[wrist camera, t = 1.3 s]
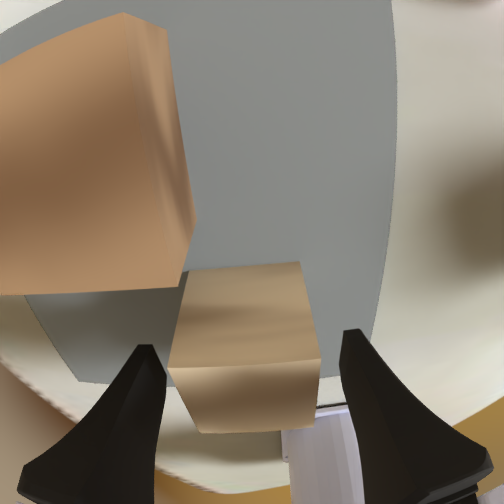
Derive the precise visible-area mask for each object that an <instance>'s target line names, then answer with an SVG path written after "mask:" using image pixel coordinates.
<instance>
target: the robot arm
mask: <svg viewBox="0 0 504 504" xmlns="http://www.w3.org/2000/svg"><path fill="white" fill-rule="evenodd" d="M339 370H340V376H341V382H342V387H343V391H344V395H345V398H346V402H347V405H342V406H335V407H328V408H321V409H316V413H315V421H314V427H310V428H301V429H291V430H281V441H282V458H283V462H286V463H288V462H289V474H290V487H291V500H292V504H504V484H502V485H500V486H498V487H497V488H495V489H493V490H491V491H489V492H487V493H485V494H483V495H481V496H479V497H476V494H475V492H477V491H478V486H477V482H479V481H480V480H482V479H483V478H485V477H486V476H487V475H489V474H490V473H491V472H492V471H493V469H494V466H493V464H492V461H491V458H490V455H489V453H488V451H487V449H486V448H485V447H483V446H481V445H479V444H478V443H476V442H474V441H472V440H470V439H469V438H467V437H466V436H464V435H463V434H461V433H460V432H458V431H457V430H455V429H454V428H452V427H451V426H450V425H448V424H447V423H446V422H444V421H443V420H442V419H440V418H439V417H438V416H436V415H435V414H434V413H433V412H432V411H431V410H429V409H428V408H427V407H426V406H425V405H424V404H423V403H422V402H421V401H420V400H418V399H417V398H416V397H415V396H414V395H413V394H412V393H411V392H410V391H409V390H408V388H407V387H406V386H405V385H404V384H403V383H402V382H401V381H400V380H399V379H398V377H397V376H396V375H395V374H394V373H393V372H392V370H391V369H390V368H389V367H388V365H387V364H386V363H385V362H384V360H383V359H382V358H381V357H380V355H379V354H378V353H377V351H376V350H375V349H374V347H373V346H372V345H371V343H370V342H369V340H368V339H367V337H366V336H365V335H364V333H363V332H362V330H361V329H359V328H357V329H350V330H343V338H342V344H341V351H340V358H339ZM166 386H167V374H166V372H165V370H164V368H163V366H162V364H161V362H160V360H159V357H158V355H157V353H156V351H155V349H154V346H153V344H138V345H137V346H136V348H135V349H134V351H133V352H132V354H131V355H130V357H129V358H128V360H127V361H126V363H125V364H124V366H123V367H122V368H121V370H120V371H119V373H118V374H117V376H116V377H115V378H114V380H113V381H112V383H111V384H110V385H109V387H108V388H107V390H106V391H105V392H104V393H103V395H102V396H101V397H100V399H99V400H98V401H97V402H96V404H95V405H94V406H93V407H92V409H91V410H90V411H89V412H88V413H87V414H86V415H85V417H84V418H83V419H82V420H81V421H80V422H79V423H78V424H77V425H76V426H75V427H74V428H73V429H72V430H71V431H70V432H69V433H68V434H66V435H65V436H64V437H63V438H62V439H61V440H60V441H59V442H57V443H56V444H55V445H54V446H52V447H51V448H50V449H48V450H47V451H46V452H44V453H43V454H42V455H40V456H39V457H37V458H35V459H34V460H32V461H31V462H29V463H28V464H26V465H24V467H23V470H22V473H21V476H20V480H19V483H18V487H17V491H18V493H19V494H21V495H22V496H24V497H26V498H27V499H29V500H31V501H33V502H35V503H37V504H154V467H155V452H156V445H157V440H158V434H159V429H160V424H161V419H162V414H163V409H164V404H165V398H166ZM16 504H23V503H21V502H18V501H17V502H16Z"/></svg>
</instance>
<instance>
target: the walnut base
mask: <svg viewBox="0 0 504 504" xmlns="http://www.w3.org/2000/svg"><path fill="white" fill-rule="evenodd" d="M196 221H197V217H196V212H195V207H194V202H193V196H192V191H191V185H190V180H189V174H188V169H187V163H186V157H185V151H184V145H183V139H182V133H181V127H180V120H179V114H178V108H177V101H176V94H175V87H174V80H173V73H172V66H171V58H170V51H169V43H168V35H167V30H166V29H164V28H161V27H159V26H157V25H154V24H152V23H150V22H147V21H145V20H142V19H140V18H137V17H135V16H132V15H130V14H127V13H124V12H122V13H119V14H115V15H112V16H109V17H106V18H103V19H100V20H97V21H95V22H92V23H89V24H86V25H84V26H81V27H78V28H76V29H73V30H71V31H68V32H66V33H64V34H61V35H59V36H57V37H54V38H52V39H50V40H48V41H46V42H43V43H41V44H39V45H37V46H35V47H33V48H31V49H29V50H27V51H25V52H23V53H21V54H19V55H18V56H16V57H14V58H12V59H10V60H8V61H7V62H5V63H3V64H1V65H0V294H1V295H29V294H56V293H78V292H99V291H117V290H134V289H151V288H166V287H178V284H179V281H180V277H181V273H182V270H183V266H184V263H185V259H186V255H187V252H188V248H189V245H190V242H191V238H192V235H193V231H194V228H195V225H196Z"/></svg>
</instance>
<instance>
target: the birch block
mask: <svg viewBox="0 0 504 504" xmlns="http://www.w3.org/2000/svg"><path fill="white" fill-rule="evenodd" d="M320 367H321V355H320V350H319V345H318V340H317V336H316V331H315V326H314V322H313V317H312V313H311V308H310V304H309V299H308V295H307V291H306V286H305V282H304V278H303V273H302V269H301V265H300V261H297V262H286V263H275V264H263V265H252V266H240V267H229V268H217V269H205V270H192V271H189V274H188V278H187V282H186V286H185V290H184V294H183V298H182V303H181V307H180V311H179V315H178V320H177V324H176V329H175V333H174V338H173V342H172V347H171V352H170V356H169V361H168V366H167V369H168V371H169V373H170V375H171V377H172V379H173V382H174V384H175V386H176V388H177V390H178V392H179V394H180V396H181V398H182V400H183V402H184V404H185V406H186V408H187V410H188V412H189V414H190V416H191V418H192V420H193V421H194V423H195V425H196V427H197V429H198V431H199V433H250V432H267V431H280V430H291V429H301V428H310V427H314V421H315V413H316V405H317V396H318V387H319V377H320Z"/></svg>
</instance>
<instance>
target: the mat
mask: <svg viewBox="0 0 504 504" xmlns="http://www.w3.org/2000/svg"><path fill="white" fill-rule="evenodd" d="M122 12H124V13H127V14H130V15H132V16H135V17H137V18H140V19H142V20H145V21H147V22H150V23H152V24H154V25H157V26H159V27H161V28H164V29H166V30H167V35H168V43H169V51H170V58H171V66H172V73H173V80H174V87H175V94H176V101H177V108H178V114H179V120H180V127H181V133H182V139H183V145H184V151H185V157H186V163H187V169H188V174H189V180H190V185H191V191H192V196H193V202H194V207H195V212H196V217H197V221H196V225H195V228H194V231H193V235H192V238H191V242H190V245H189V248H188V252H187V255H186V259H185V263H184V266H183V270H182V273H181V277H180V281H179V284H178V287H166V288H151V289H134V290H117V291H99V292H78V293H56V294H29V295H24V296H25V298H26V300H27V302H28V303H29V305H30V307H31V309H32V311H33V312H34V314H35V316H36V317H37V319H38V321H39V323H40V324H41V326H42V328H43V329H44V331H45V332H46V334H47V336H48V337H49V339H50V340H51V342H52V344H53V345H54V347H55V348H56V350H57V351H58V353H59V354H60V356H61V357H62V359H63V360H64V362H65V363H66V364H67V366H68V367H69V369H70V370H71V371H72V373H73V374H74V376H75V377H76V378H77V380H78V381H79V382H89V383H101V384H111V383H112V381H113V380H114V378H115V377H116V376H117V374H118V373H119V371H120V370H121V368H122V367H123V366H124V364H125V363H126V361H127V360H128V358H129V357H130V355H131V354H132V352H133V351H134V349H135V348H136V346H137V345H138V344H153V346H154V349H155V351H156V353H157V355H158V357H159V360H160V362H161V364H162V366H163V368H164V370H165V372H166V374H167V386H166V387H176V386H175V384H174V382H173V379H172V377H171V375H170V373H169V371H168V369H167V366H168V361H169V356H170V352H171V347H172V342H173V338H174V333H175V329H176V324H177V320H178V315H179V311H180V307H181V303H182V298H183V294H184V290H185V286H186V282H187V278H188V274H189V271H192V270H205V269H217V268H229V267H240V266H252V265H263V264H275V263H286V262H297V261H300V265H301V269H302V273H303V278H304V282H305V286H306V291H307V295H308V299H309V304H310V308H311V313H312V317H313V322H314V326H315V331H316V336H317V340H318V345H319V350H320V355H321V367H320V377H319V378H326V377H333V376H340V370H339V358H340V351H341V344H342V338H343V330H350V329H357V328H359V329H361V330H362V332H363V333H364V335H365V336H366V337H367V339H368V340H369V342H370V339H371V335H372V330H373V326H374V321H375V316H376V311H377V306H378V301H379V295H380V290H381V284H382V278H383V272H384V265H385V259H386V252H387V245H388V237H389V229H390V221H391V211H392V201H393V190H394V177H395V162H396V140H397V70H396V50H395V35H394V23H393V13H392V4H391V0H63V1H61V2H59V3H57V4H54V5H52V6H50V7H48V8H46V9H44V10H42V11H40V12H38V13H36V14H34V15H32V16H30V17H29V18H27V19H25V20H23V21H21V22H20V23H18V24H16V25H14V26H13V27H11V28H9V29H8V30H6V31H4V32H3V33H1V34H0V65H1V64H3V63H5V62H7V61H8V60H10V59H12V58H14V57H16V56H18V55H19V54H21V53H23V52H25V51H27V50H29V49H31V48H33V47H35V46H37V45H39V44H41V43H43V42H46V41H48V40H50V39H52V38H54V37H57V36H59V35H61V34H64V33H66V32H68V31H71V30H73V29H76V28H78V27H81V26H84V25H86V24H89V23H92V22H95V21H97V20H100V19H103V18H106V17H109V16H112V15H115V14H119V13H122Z"/></svg>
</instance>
